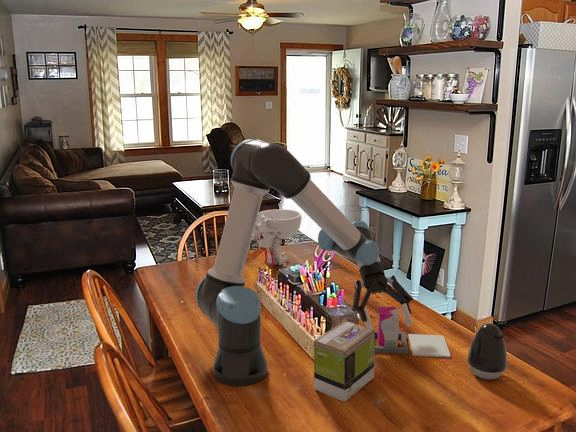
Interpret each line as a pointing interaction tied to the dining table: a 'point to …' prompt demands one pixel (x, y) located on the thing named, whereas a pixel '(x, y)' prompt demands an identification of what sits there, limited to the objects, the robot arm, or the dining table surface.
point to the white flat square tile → (428, 345)
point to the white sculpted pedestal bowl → (276, 232)
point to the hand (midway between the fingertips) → (390, 328)
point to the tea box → (344, 360)
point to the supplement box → (388, 326)
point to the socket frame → (393, 349)
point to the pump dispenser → (488, 352)
